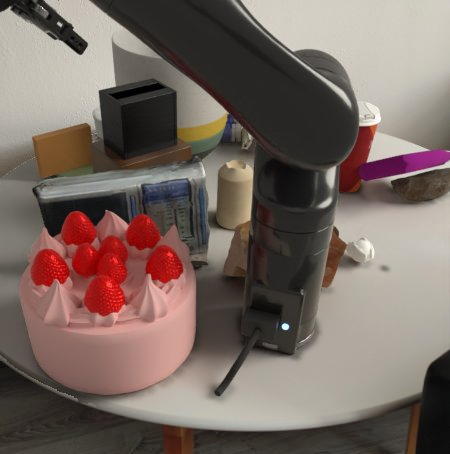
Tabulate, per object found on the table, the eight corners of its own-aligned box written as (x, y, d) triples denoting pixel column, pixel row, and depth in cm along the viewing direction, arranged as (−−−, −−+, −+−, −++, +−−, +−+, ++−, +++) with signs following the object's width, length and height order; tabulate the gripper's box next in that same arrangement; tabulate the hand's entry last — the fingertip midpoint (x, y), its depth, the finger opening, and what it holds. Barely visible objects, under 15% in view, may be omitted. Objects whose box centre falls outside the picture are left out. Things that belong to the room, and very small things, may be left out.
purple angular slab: (410, 152, 89) (479, 141, 105) (350, 166, 97) (423, 153, 113) (413, 172, 89) (481, 157, 105) (353, 183, 97) (425, 168, 113)
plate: (91, 185, 100) (90, 181, 99) (43, 176, 101) (42, 172, 101) (113, 162, 106) (112, 158, 106) (68, 154, 108) (67, 150, 108)
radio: (40, 279, 80) (20, 182, 70) (50, 243, 86) (33, 150, 76) (210, 277, 81) (213, 182, 72) (207, 242, 88) (209, 150, 78)
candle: (247, 232, 91) (251, 174, 84) (212, 227, 91) (214, 169, 85) (253, 213, 95) (257, 157, 88) (220, 209, 96) (222, 153, 89)
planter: (206, 193, 99) (209, 65, 85) (102, 172, 103) (89, 47, 89) (239, 146, 113) (246, 29, 99) (147, 129, 117) (141, 15, 103)
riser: (126, 239, 88) (120, 167, 80) (97, 212, 93) (89, 143, 85) (191, 215, 94) (191, 145, 86) (160, 191, 99) (158, 124, 91)
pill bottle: (242, 116, 110) (195, 115, 110) (241, 144, 112) (195, 143, 112) (241, 112, 115) (196, 110, 115) (240, 139, 117) (196, 137, 117)
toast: (95, 162, 104) (42, 178, 99) (90, 159, 105) (38, 174, 100) (90, 125, 100) (35, 140, 95) (86, 122, 101) (31, 136, 96)
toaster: (124, 160, 82) (120, 104, 77) (100, 141, 86) (94, 87, 81) (177, 144, 86) (176, 91, 81) (152, 127, 90) (149, 75, 85)
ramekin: (85, 129, 115) (84, 108, 113) (124, 120, 120) (124, 99, 117) (108, 148, 111) (106, 127, 108) (147, 138, 115) (147, 117, 112)
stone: (325, 302, 84) (226, 308, 79) (307, 252, 88) (213, 255, 84) (368, 241, 72) (256, 243, 67) (346, 187, 77) (239, 185, 72)
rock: (411, 169, 94) (381, 170, 104) (410, 202, 95) (381, 200, 105) (485, 165, 97) (449, 167, 106) (484, 197, 98) (448, 196, 108)
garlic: (341, 251, 87) (352, 272, 84) (344, 234, 85) (355, 254, 82) (372, 248, 88) (384, 267, 85) (377, 231, 86) (389, 250, 83)
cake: (225, 321, 74) (230, 228, 65) (125, 428, 61) (114, 330, 52) (106, 267, 82) (96, 177, 72) (-6, 353, 68) (-36, 255, 59)
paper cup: (373, 191, 102) (392, 114, 93) (335, 198, 100) (350, 120, 91) (350, 171, 107) (365, 96, 98) (314, 177, 105) (326, 101, 96)
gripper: (17, -50, 73) (107, 33, 86) (-25, -68, 81) (63, 10, 94) (-15, 2, 74) (79, 76, 87) (-53, -21, 82) (38, 50, 95)
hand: (71, 42), depth 90 cm, fingers open, 8 cm apart
